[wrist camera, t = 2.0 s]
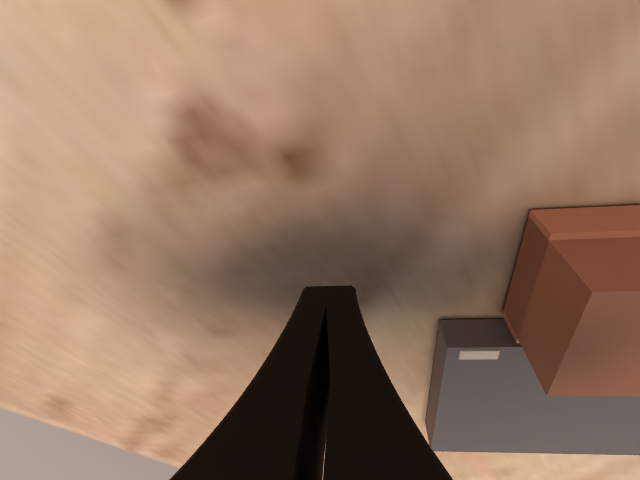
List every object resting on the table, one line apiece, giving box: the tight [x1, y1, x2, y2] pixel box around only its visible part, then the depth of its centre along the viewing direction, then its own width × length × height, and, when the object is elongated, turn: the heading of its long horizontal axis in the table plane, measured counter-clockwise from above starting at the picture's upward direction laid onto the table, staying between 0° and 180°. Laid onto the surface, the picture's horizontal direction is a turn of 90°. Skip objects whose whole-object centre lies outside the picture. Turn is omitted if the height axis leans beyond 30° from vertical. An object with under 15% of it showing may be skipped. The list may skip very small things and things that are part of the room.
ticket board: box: [425, 319, 640, 455], centre depth 13 cm, size 14×6×1 cm, turn 95°
